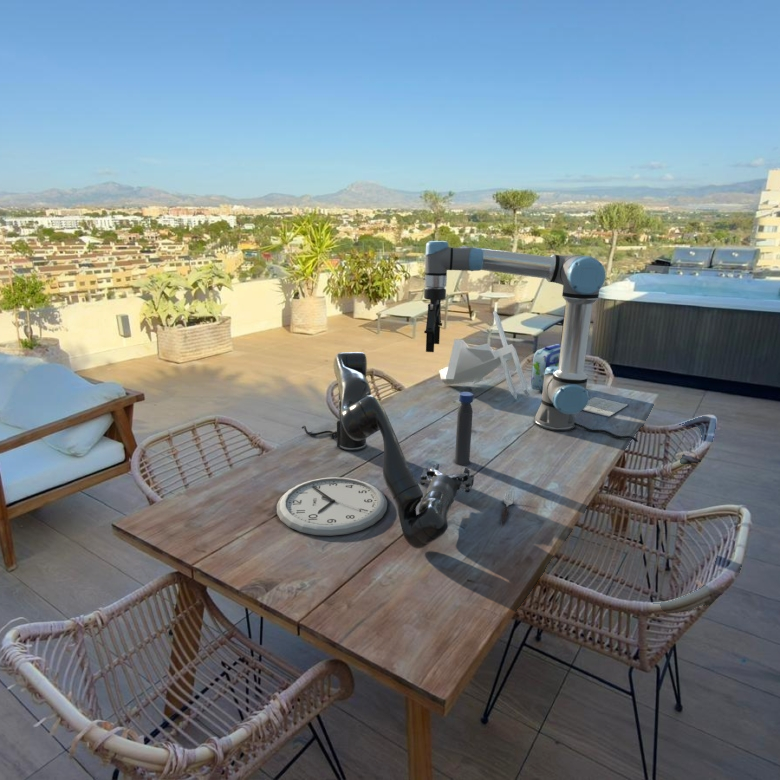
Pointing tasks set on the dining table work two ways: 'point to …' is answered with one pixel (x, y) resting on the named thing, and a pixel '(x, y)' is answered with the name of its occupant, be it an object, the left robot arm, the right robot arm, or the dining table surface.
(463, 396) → the cap
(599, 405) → the invitation card
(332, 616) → the dining table surface
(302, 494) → the wall clock
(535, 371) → the lunch box
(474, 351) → the white plastic object
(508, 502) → the fork
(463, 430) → the bottle
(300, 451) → the dining table surface
